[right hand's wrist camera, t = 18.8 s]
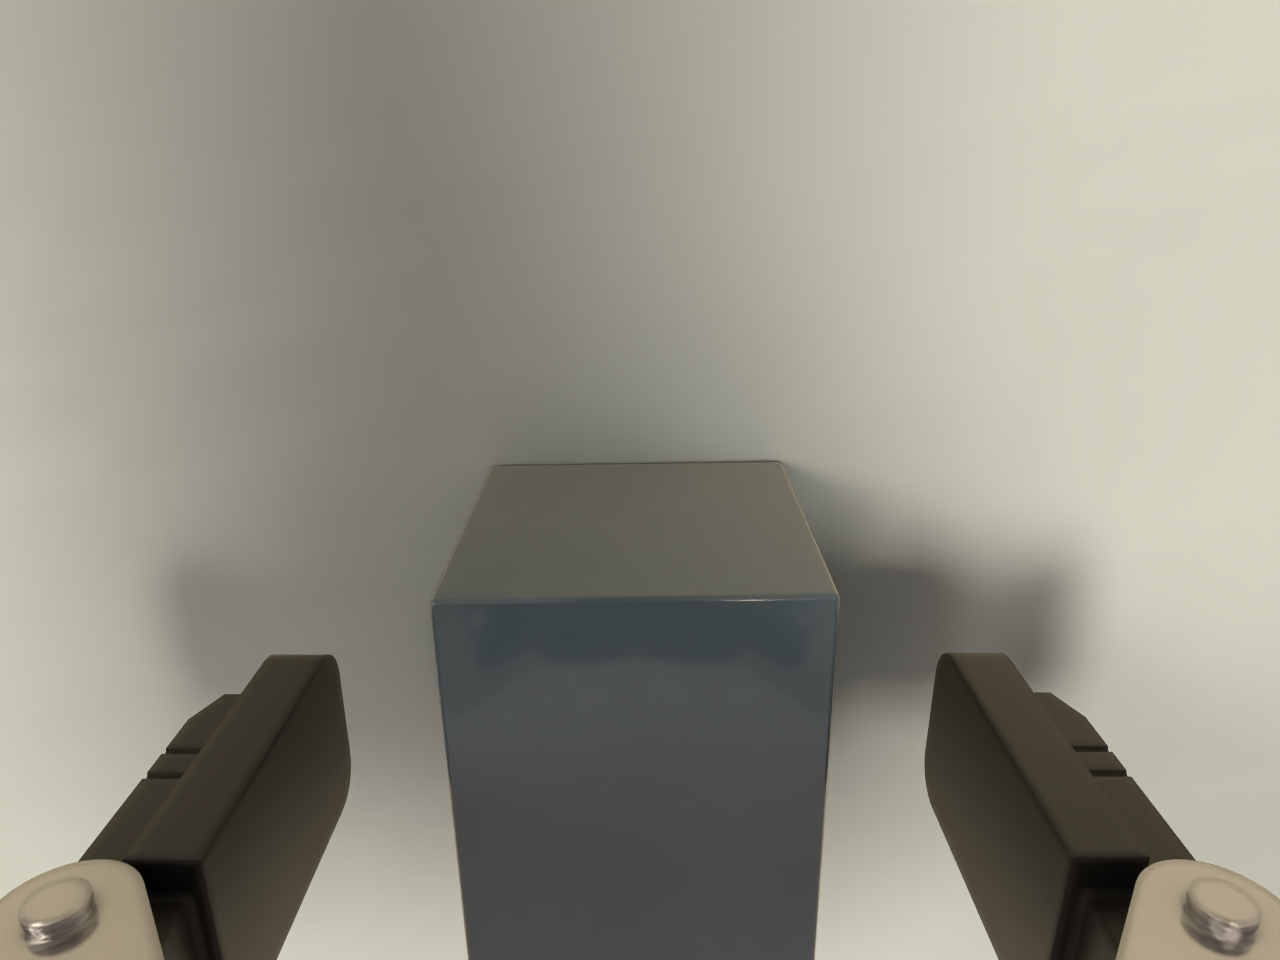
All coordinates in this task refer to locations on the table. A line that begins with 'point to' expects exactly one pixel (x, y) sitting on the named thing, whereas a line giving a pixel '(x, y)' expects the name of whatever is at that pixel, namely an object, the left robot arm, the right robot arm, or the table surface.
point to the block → (637, 712)
